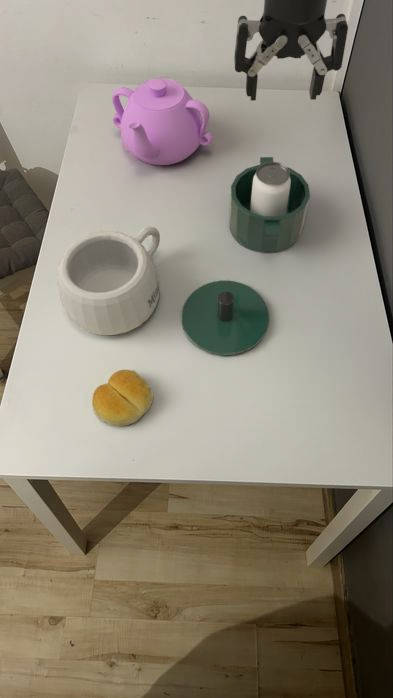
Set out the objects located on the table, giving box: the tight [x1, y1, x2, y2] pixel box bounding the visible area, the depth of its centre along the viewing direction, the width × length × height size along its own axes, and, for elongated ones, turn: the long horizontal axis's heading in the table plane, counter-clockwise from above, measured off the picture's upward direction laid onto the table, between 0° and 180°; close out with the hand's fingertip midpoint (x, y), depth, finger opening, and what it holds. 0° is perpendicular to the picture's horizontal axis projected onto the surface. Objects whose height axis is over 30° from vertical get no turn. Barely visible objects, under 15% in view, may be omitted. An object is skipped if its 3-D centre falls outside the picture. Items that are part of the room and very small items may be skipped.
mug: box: [56, 226, 161, 336], centre depth 83 cm, size 21×17×10 cm
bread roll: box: [91, 369, 154, 427], centre depth 76 cm, size 8×9×4 cm
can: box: [250, 161, 291, 216], centre depth 89 cm, size 6×6×12 cm
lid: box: [181, 280, 270, 356], centre depth 82 cm, size 15×15×6 cm
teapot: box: [111, 78, 214, 166], centre depth 99 cm, size 22×22×14 cm
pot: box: [229, 156, 311, 254], centre depth 91 cm, size 14×19×8 cm
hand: (282, 96), depth 72 cm, fingers open, 8 cm apart
